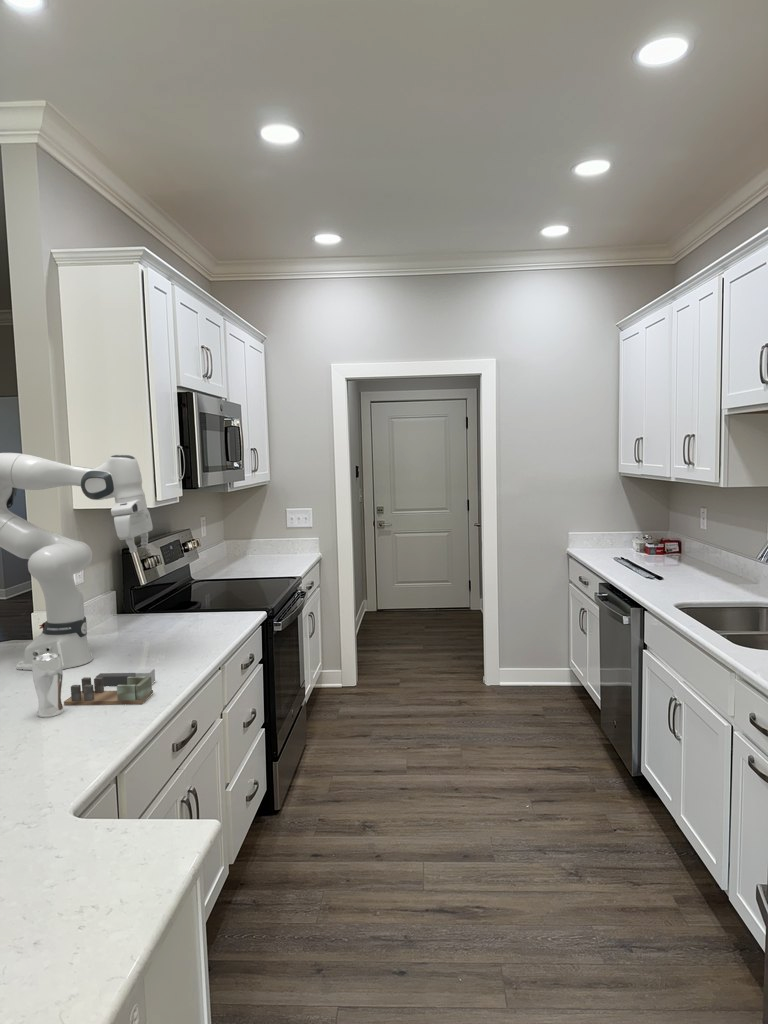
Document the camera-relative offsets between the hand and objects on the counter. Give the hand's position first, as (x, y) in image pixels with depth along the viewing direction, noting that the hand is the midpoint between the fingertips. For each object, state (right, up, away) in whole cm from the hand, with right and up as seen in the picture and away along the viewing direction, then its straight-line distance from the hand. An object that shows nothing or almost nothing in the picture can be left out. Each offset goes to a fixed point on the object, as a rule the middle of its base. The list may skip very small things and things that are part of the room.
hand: (139, 549), depth 213 cm
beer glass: (-10, -41, -36) cm, 55 cm away
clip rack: (+1, -39, -27) cm, 48 cm away
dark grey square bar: (0, -38, -15) cm, 41 cm away
